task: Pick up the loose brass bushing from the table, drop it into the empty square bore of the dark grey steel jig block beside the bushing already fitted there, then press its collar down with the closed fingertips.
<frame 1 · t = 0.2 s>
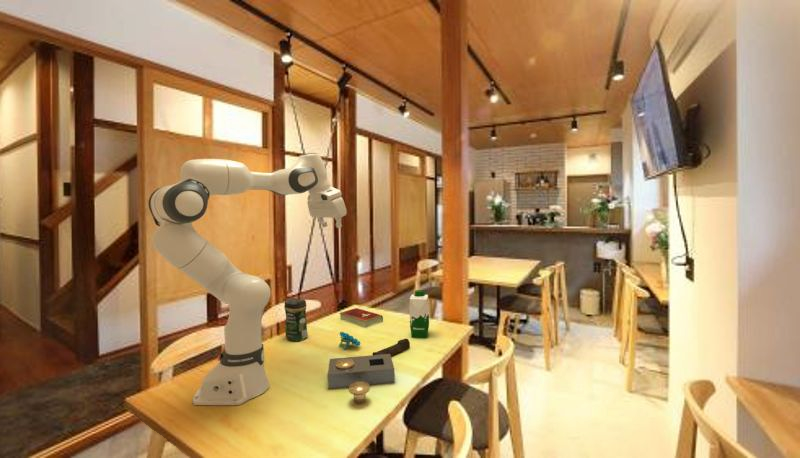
hand: (332, 227, 141), 52 cm above the table, tool tilted 20°, fingers open, 8 cm apart
hardcover book: (360, 321, 185), on the table
milk carton: (419, 335, 162), on the table
bushing: (359, 401, 108), on the table
gear: (349, 347, 150), on the table
jig: (361, 377, 123), on the table
hand tool: (392, 355, 142), on the table
coffee jar: (296, 338, 162), on the table
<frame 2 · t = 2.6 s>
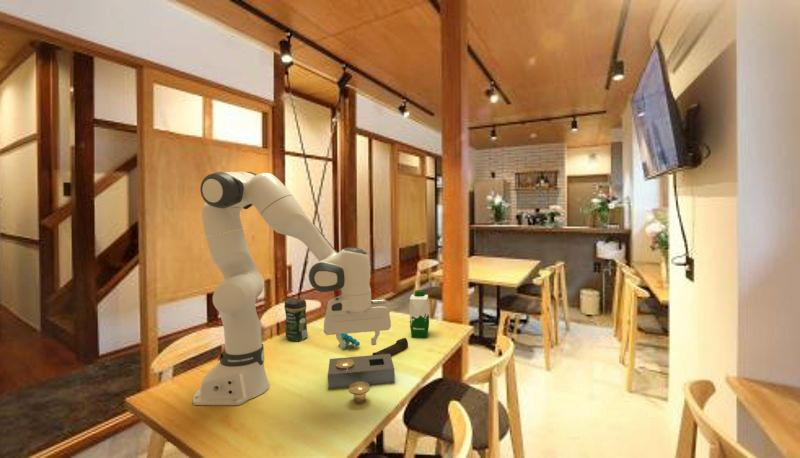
hand: (358, 345, 107), 17 cm above the table, tool pointing down, fingers open, 8 cm apart
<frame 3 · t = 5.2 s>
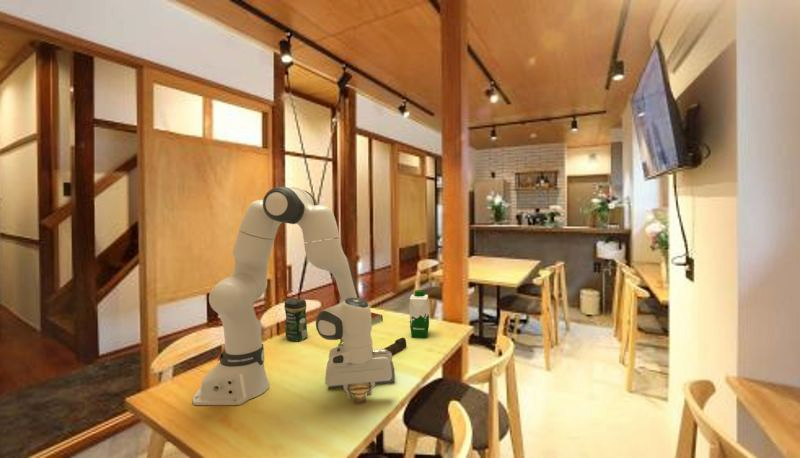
hand: (359, 395, 108), 2 cm above the table, tool pointing down, fingers closed on bushing, 5 cm apart
bushing: (359, 401, 108), on the table, touching gripper
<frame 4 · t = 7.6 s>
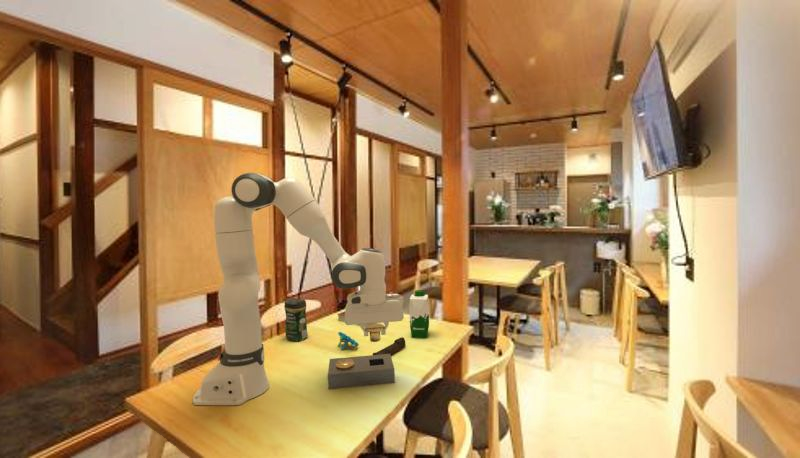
hand: (374, 335, 121), 15 cm above the table, tool pointing down, fingers closed on bushing, 4 cm apart
bushing: (375, 339, 121), point 14 cm above the table, touching gripper
when the fingers open (8 cm above the table, at t = 10.1 s): bushing drops 4 cm, resting on jig.
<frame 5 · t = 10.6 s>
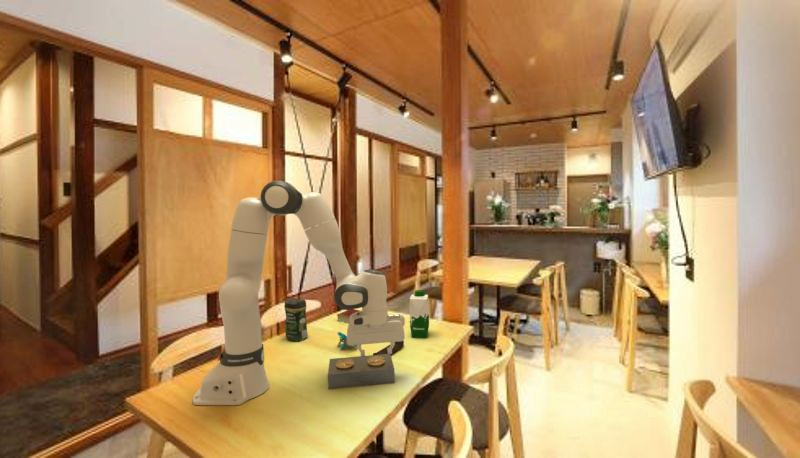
hand: (376, 354, 123), 8 cm above the table, tool pointing down, fingers open, 8 cm apart
bushing: (376, 372, 124), point 1 cm above the table, touching jig
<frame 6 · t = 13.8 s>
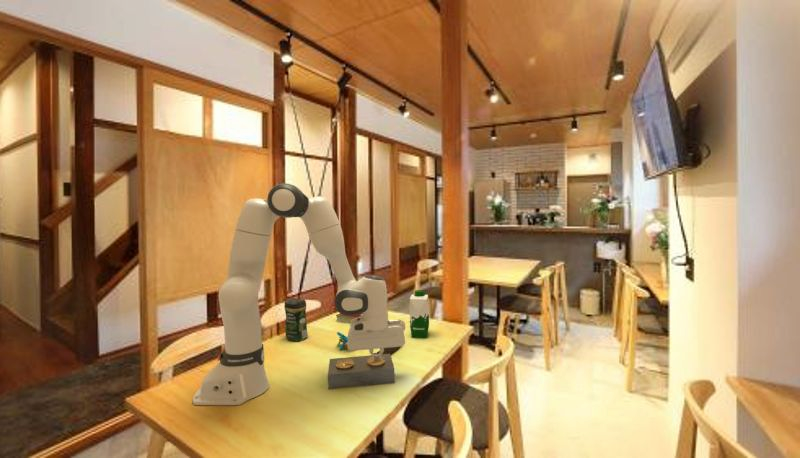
hand: (376, 359, 124), 6 cm above the table, tool pointing down, fingers closed, pressing on bushing
bushing: (376, 372, 124), point 1 cm above the table, touching gripper, jig
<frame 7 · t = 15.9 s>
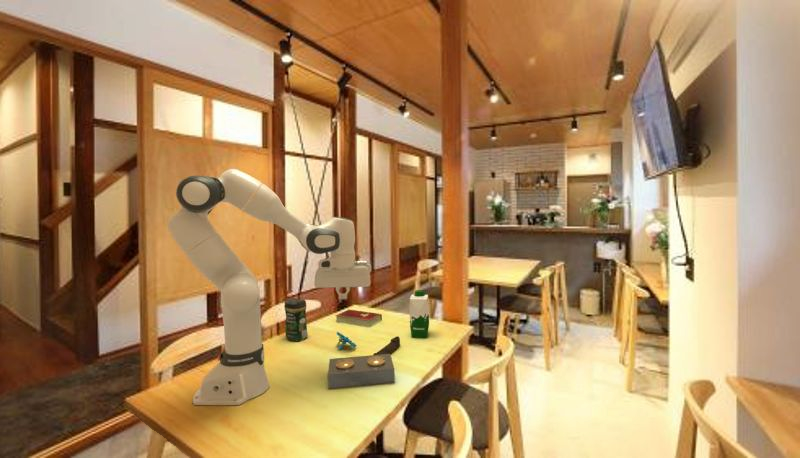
hand: (342, 298, 129), 26 cm above the table, tool pointing down, fingers closed
bushing: (376, 372, 124), point 1 cm above the table, touching jig
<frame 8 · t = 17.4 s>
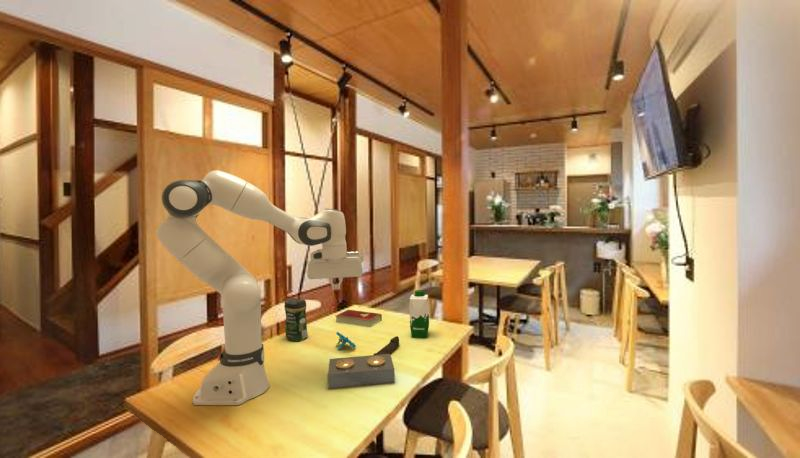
hand: (336, 289, 131), 29 cm above the table, tool pointing down, fingers closed
at the end: bushing 0.1 cm from the target spot on the jig, point 1.2 cm above the jig's base; bushing tilted 0°; the gripper is holding nothing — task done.
